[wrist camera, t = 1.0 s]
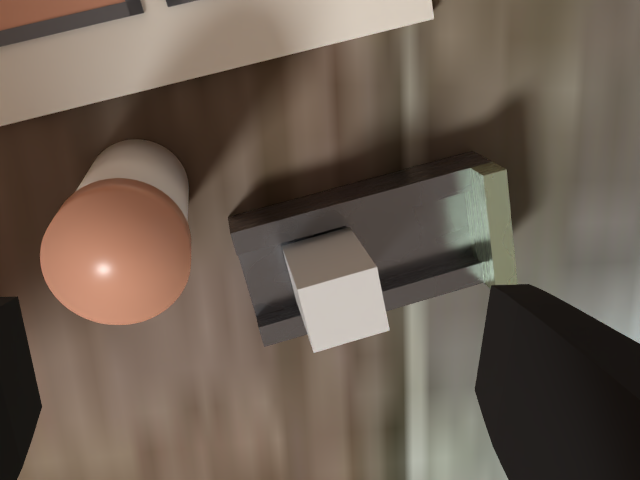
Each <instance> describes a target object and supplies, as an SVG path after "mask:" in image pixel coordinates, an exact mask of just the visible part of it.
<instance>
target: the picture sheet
mask: <svg viewBox="0 0 640 480" xmlns="http://www.w3.org/2000/svg"><path fill="white" fill-rule="evenodd" d="M431 19H434V15H433V7H432V0H0V126H4V125H8V124H12V123H16V122H20V121H24V120H28V119H32V118H36V117H40V116H44V115H48V114H52V113H56V112H60V111H64V110H68V109H72V108H76V107H80V106H84V105H88V104H92V103H96V102H100V101H105V100H109V99H113V98H117V97H121V96H125V95H129V94H133V93H137V92H141V91H145V90H149V89H153V88H157V87H161V86H165V85H169V84H173V83H177V82H181V81H185V80H189V79H193V78H197V77H201V76H205V75H209V74H214V73H218V72H222V71H226V70H230V69H234V68H238V67H242V66H246V65H250V64H254V63H258V62H262V61H266V60H270V59H274V58H278V57H282V56H286V55H290V54H294V53H298V52H302V51H306V50H310V49H314V48H318V47H323V46H327V45H331V44H335V43H339V42H343V41H347V40H351V39H355V38H359V37H363V36H367V35H371V34H375V33H379V32H383V31H387V30H391V29H395V28H399V27H403V26H407V25H411V24H415V23H419V22H423V21H427V20H431Z"/></svg>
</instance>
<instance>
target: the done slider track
mask: <svg viewBox="0 0 640 480" xmlns="http://www.w3.org/2000/svg"><path fill="white" fill-rule="evenodd" d="M228 221H229V227H230V234H231V237H232V240H233V244H234V247H235V250H236V254H237V256H238V257H239V260H240V263H241V267H242V270H243V273H244V277H245V280H246V283H247V287H248V290H249V293H250V297H251V300H252V303H253V307H254V310H255V313H256V317H257V322H258V327H259V331H260V334H261V337H262V341H263V344H264V347H265V346H269V345H272V344H276V343H279V342H282V341H286V340H289V339H293V338H296V337H300V336H303V335H306V334H307V331H306V328H305V325H304V322H303V319H302V316H301V314H300V311H299V308H298V305H297V302H296V298H295V294H294V290H293V287H292V283H291V279H290V275H289V272H288V268H287V264H286V260H285V256H284V253H283V249H282V246H283V245H286V244H290V243H294V242H297V241H301V240H304V239H308V238H312V237H315V236H319V235H322V234H326V233H330V232H333V231H337V230H340V229H344V228H348V227H350V228H351V230H352V231H353V233H354V234H355V236H356V237H357V238H358V240H359V241H360V243H361V244H362V246H363V247H364V249H365V250H366V252H367V253H368V254H369V256H370V257H371V259H372V260H373V262H374V263H375V265H376V266H377V269H378V274H379V279H380V284H381V289H382V295H383V300H384V305H385V310H386V311H388V310H392V309H395V308H399V307H402V306H405V305H409V304H412V303H416V302H419V301H422V300H426V299H429V298H433V297H436V296H439V295H443V294H446V293H450V292H453V291H457V290H460V289H463V288H467V287H470V286H474V285H477V284H480V283H485V284H486V285H487V286H488V287H489V288H490V289H491V285H518V284H517V274H516V263H515V253H514V242H513V232H512V221H511V210H510V200H509V189H508V179H507V169H505V168H503V167H501V166H499V165H497V164H496V163H494V162H492V161H490V160H488V159H486V158H485V157H483V156H481V155H479V154H477V153H475V152H473V151H471V152H467V153H463V154H460V155H456V156H452V157H449V158H445V159H441V160H437V161H434V162H430V163H426V164H423V165H419V166H415V167H412V168H408V169H404V170H401V171H397V172H393V173H389V174H386V175H382V176H378V177H375V178H371V179H367V180H364V181H360V182H356V183H353V184H349V185H345V186H342V187H338V188H334V189H330V190H327V191H323V192H319V193H316V194H312V195H308V196H305V197H301V198H297V199H294V200H290V201H286V202H282V203H279V204H275V205H271V206H268V207H264V208H260V209H257V210H253V211H249V212H246V213H242V214H238V215H234V216H231V217H228Z"/></svg>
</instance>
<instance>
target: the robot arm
mask: <svg viewBox="0 0 640 480" xmlns="http://www.w3.org/2000/svg"><path fill="white" fill-rule="evenodd" d="M475 392H476V395H477V399H478V402H479V405H480V408H481V412H482V415H483V418H484V421H485V424H486V427H487V430H488V433H489V436H490V439H491V442H492V445H493V447H494V450H495V452H496V454H497V456H498V458H499V460H500V463H501V465H502V467H503V469H504V471H505V473H506V475H507V477H508V479H509V480H640V344H639V343H637V342H636V341H634V340H632V339H630V338H628V337H627V336H625V335H623V334H621V333H619V332H618V331H616V330H614V329H612V328H611V327H609V326H607V325H605V324H603V323H602V322H600V321H598V320H596V319H595V318H593V317H591V316H589V315H587V314H586V313H584V312H582V311H580V310H579V309H577V308H575V307H573V306H571V305H570V304H568V303H566V302H564V301H562V300H560V299H559V298H557V297H555V296H553V295H551V294H549V293H547V292H545V291H543V290H541V289H539V288H537V287H534V286H532V285H529V284H519V285H491V290H490V296H489V302H488V309H487V315H486V322H485V328H484V334H483V341H482V347H481V354H480V360H479V366H478V373H477V379H476V385H475ZM41 408H42V404H41V400H40V395H39V391H38V386H37V382H36V377H35V373H34V368H33V363H32V359H31V354H30V350H29V345H28V341H27V336H26V332H25V327H24V323H23V318H22V313H21V309H20V304H19V300H18V297H0V480H17V478H18V476H19V474H20V471H21V469H22V467H23V464H24V461H25V458H26V455H27V452H28V449H29V447H30V444H31V441H32V438H33V434H34V431H35V428H36V424H37V421H38V418H39V415H40V411H41Z"/></svg>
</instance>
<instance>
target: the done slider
mask: <svg viewBox="0 0 640 480" xmlns="http://www.w3.org/2000/svg"><path fill="white" fill-rule="evenodd" d="M282 249H283V253H284V256H285V260H286V264H287V268H288V272H289V275H290V279H291V283H292V287H293V290H294V294H295V298H296V302H297V305H298V308H299V311H300V314H301V316H302V319H303V322H304V325H305V328H306V331H307V334H308V337H309V340H310V343H311V346H312V349H313V352H314V353H315V352H318V351H321V350H325V349H328V348H332V347H335V346H338V345H342V344H345V343H348V342H352V341H355V340H359V339H362V338H365V337H369V336H372V335H375V334H379V333H382V332H386V331H389V325H388V320H387V315H386V310H385V305H384V300H383V295H382V289H381V284H380V279H379V274H378V269H377V266H376V265H375V263H374V262H373V260H372V259H371V257H370V256H369V254H368V253H367V252H366V250H365V249H364V247H363V246H362V244H361V243H360V241H359V240H358V238H357V237H356V236H355V234H354V233H353V231H352V230H351V228H350V227H348V228H344V229H340V230H337V231H333V232H330V233H326V234H322V235H319V236H315V237H312V238H308V239H304V240H301V241H297V242H294V243H290V244H286V245H283V246H282Z"/></svg>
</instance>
